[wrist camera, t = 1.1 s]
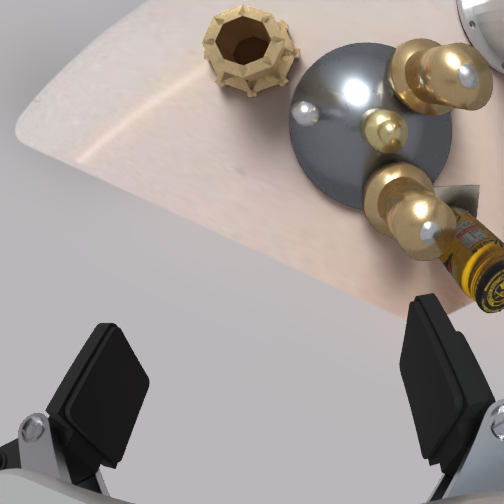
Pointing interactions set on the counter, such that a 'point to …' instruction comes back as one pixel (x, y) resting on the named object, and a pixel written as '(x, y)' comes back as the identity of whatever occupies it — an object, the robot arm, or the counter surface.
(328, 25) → the counter surface
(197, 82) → the counter surface
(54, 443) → the robot arm
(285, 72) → the gold hollow octagonal piece
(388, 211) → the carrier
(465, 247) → the condiment
